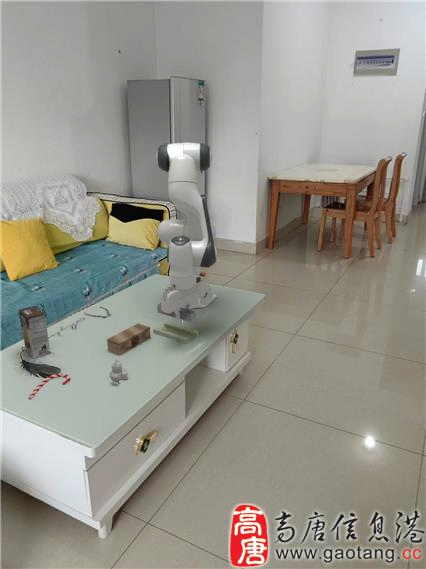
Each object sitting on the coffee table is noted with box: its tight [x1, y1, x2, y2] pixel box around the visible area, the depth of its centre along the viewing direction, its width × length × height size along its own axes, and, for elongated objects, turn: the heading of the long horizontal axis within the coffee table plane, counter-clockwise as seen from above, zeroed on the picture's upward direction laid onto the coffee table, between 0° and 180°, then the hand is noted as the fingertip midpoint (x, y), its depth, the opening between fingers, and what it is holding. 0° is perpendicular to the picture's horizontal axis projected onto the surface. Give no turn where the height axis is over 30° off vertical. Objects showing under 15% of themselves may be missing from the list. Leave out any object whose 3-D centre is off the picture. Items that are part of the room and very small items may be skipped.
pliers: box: [83, 306, 112, 319], centre depth 190 cm, size 10×1×20 cm
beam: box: [106, 322, 152, 356], centre depth 160 cm, size 16×6×6 cm, turn 146°
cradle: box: [152, 321, 200, 344], centre depth 169 cm, size 8×16×3 cm, turn 56°
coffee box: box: [18, 305, 51, 359], centre depth 156 cm, size 9×6×16 cm
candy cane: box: [28, 373, 71, 400], centre depth 137 cm, size 8×1×15 cm
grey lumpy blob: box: [109, 358, 129, 383], centre depth 139 cm, size 5×7×8 cm
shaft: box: [156, 302, 197, 323], centre depth 165 cm, size 3×16×3 cm, turn 56°
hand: (182, 316), depth 164 cm, fingers closed on shaft, 3 cm apart
